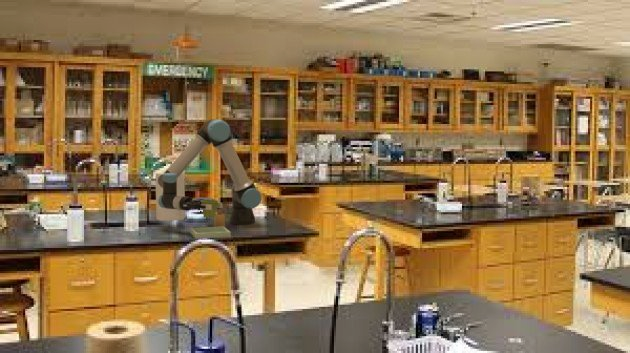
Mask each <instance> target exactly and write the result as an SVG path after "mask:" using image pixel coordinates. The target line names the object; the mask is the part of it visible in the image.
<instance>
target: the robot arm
mask: <svg viewBox="0 0 630 353" xmlns="http://www.w3.org/2000/svg"><path fill="white" fill-rule="evenodd" d="M233 140H234V139H233V136H232V134H231V127H230V125H229V124H228V123H227V122H226V121H225V120H223V119H219V118H218V119H209V120H207V121H206V122H205V123H204V124H203V125H202V126H201V127H200V128H199V130H198V131H197V132H196V134H195V138H193V140H191V142H190V143H189V144H188V145H187V146H186V148H184V150H183V151H182V152H181V153H180V154H179V155H178V156H177V158H176V159H175V160H174V161H173V162H172V163H171V165H169V166H168V168H167V169H166V170H165V171H164V172H163V173H164V174H162V175H160V176H159V177H158V184H159V185H160V186H161V187H162V188H163V195H161V196H160V197H159V200H158V203H159V205H160V207H162V208H166V209H179V211H180V210H185V212H186V211H188V212H189V211H190V210H192V209H198V210H200V208H201V209H204V210H212V205H209V204H201V200H200V201H197V200H194V199H193V198H192V197H191V196H187V195H186V196H177V178H178V177H179V176H180V175H181V173H184V171H185V170H186V169H187V168H188V167H189V165H191V163H193V162H194V160H195V159H196V158H197V157H198V155H199V154H200V153H201V152H202V151H203V150H204V149H205V148H206V147H207V146H210V144H211V145H212V147H213V148H215V149H217V151H218V152H219V153H218V154H219V155H220V157H221V159H222V161H223V163H224V165H225V168H226V169H227V171H228V173H229V174H228V175H229V176H230V178H231V180H232V182H233V184H232V185H231V186H232V188H231V191H232V192H231V193H232V194H231V195H232V196H231V197H232V204H231V205H232V206H231V207H232V209H231V213H230V217H229V223H230V224H232V225H251V224H255V223H256V216H255V214H254V210H253V209H255V208H257V207H258V206H260V203H261V201H262V194H261V192H260V191H259V190H258V189H257V188H256V185H255V183H254V181H253V180H252V179H251V180H250V179H249V177H248V174H247V172H246V171H245V167H244V165H243V163H242V162H241V160H240V158H239V156H238V154H237V151H236V149H235V146H234V144H233V142H232V141H233ZM217 208H222V209H223V202H218V204H217Z"/></svg>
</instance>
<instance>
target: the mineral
mask: <svg viewBox="0 0 630 353" xmlns="http://www.w3.org/2000/svg"><path fill="white" fill-rule="evenodd" d="M193 200H197V201H200V200H216V199H214V198H213V197H203V196H201V197H195V198H194V199H193Z"/></svg>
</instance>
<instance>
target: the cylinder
mask: <svg viewBox="0 0 630 353" xmlns="http://www.w3.org/2000/svg"><path fill="white" fill-rule="evenodd" d="M162 174H164V172H155V207H156V208H155V217H156V220H157V221H161V222H174V221H173V220H177V221H183V220H185V219H186V210H180V211H179V209H166V208H162V207H160V205H159V203H158V200H159V197H160V196H161V195H163V188H162V187H161V186H160V185H159V184H158V177H159V176H160V175H162ZM185 192H186V190H185V173H184V172H182V173H181V175H180V176H179V177H178V178H177V196H185V195H186V194H185ZM184 218H185V219H184Z"/></svg>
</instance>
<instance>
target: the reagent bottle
mask: <svg viewBox="0 0 630 353" xmlns="http://www.w3.org/2000/svg"><path fill="white" fill-rule="evenodd" d="M222 209H223V208H217V209H216V216H215V217H214V218H213V222H214V223H213V227H225V228H226V213H223V212H222V211H223V210H222Z"/></svg>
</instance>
